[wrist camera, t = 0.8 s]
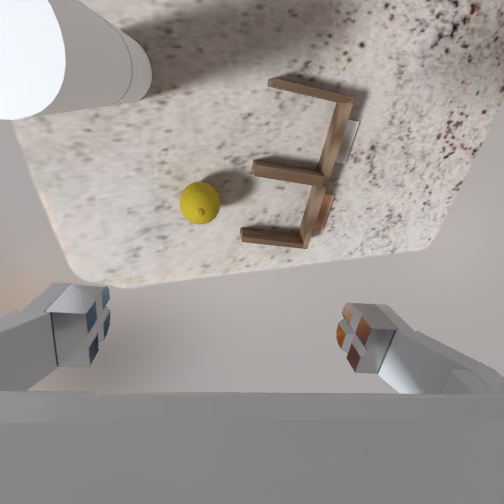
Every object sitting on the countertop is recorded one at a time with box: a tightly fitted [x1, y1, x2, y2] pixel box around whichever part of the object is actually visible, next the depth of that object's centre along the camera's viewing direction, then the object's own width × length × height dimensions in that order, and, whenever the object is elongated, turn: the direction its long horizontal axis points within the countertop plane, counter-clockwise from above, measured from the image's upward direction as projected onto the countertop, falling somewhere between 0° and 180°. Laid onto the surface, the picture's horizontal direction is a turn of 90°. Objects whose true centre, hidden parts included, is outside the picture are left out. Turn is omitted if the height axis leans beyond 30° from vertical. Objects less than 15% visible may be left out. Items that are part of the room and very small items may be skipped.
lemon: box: [180, 182, 220, 224], centre depth 40 cm, size 6×6×8 cm
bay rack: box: [240, 78, 359, 249], centre depth 42 cm, size 22×14×4 cm, turn 169°
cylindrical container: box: [0, 0, 152, 120], centre depth 24 cm, size 7×7×25 cm
